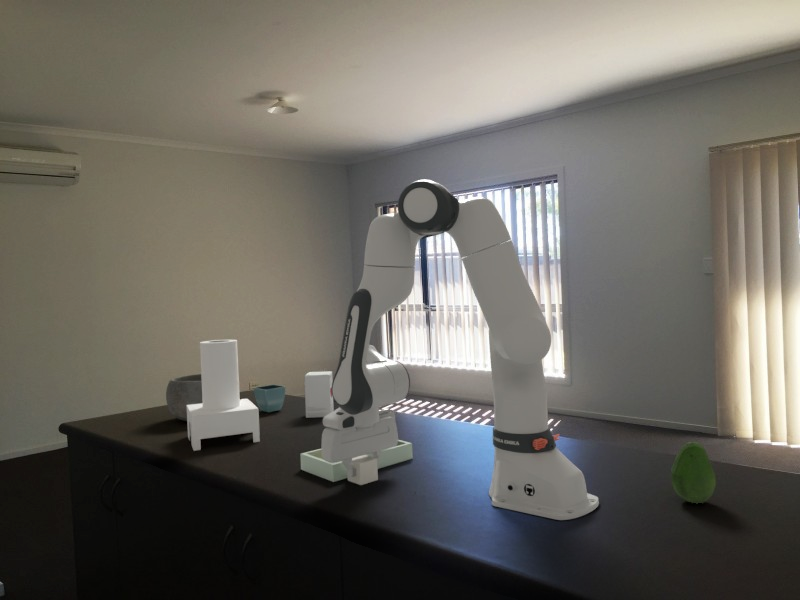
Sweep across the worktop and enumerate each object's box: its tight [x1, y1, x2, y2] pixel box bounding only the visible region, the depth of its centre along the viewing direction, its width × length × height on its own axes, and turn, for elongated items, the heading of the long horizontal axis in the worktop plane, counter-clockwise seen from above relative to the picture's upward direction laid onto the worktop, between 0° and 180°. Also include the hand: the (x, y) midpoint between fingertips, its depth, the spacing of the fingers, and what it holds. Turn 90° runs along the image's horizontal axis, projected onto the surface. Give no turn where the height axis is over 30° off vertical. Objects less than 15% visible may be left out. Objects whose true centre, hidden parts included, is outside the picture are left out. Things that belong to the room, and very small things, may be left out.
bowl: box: [165, 373, 203, 422], centre depth 214 cm, size 21×21×15 cm
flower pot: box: [253, 384, 286, 413], centre depth 224 cm, size 9×9×9 cm
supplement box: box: [304, 370, 335, 419], centre depth 214 cm, size 9×9×15 cm
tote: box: [299, 439, 414, 483], centre depth 153 cm, size 14×25×4 cm, turn 132°
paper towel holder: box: [186, 339, 261, 452], centre depth 184 cm, size 19×19×30 cm
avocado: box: [670, 441, 717, 505], centre depth 119 cm, size 8×8×12 cm
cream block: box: [347, 455, 379, 486], centre depth 140 cm, size 5×5×5 cm
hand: (362, 473), depth 140 cm, fingers closed on cream block, 5 cm apart
